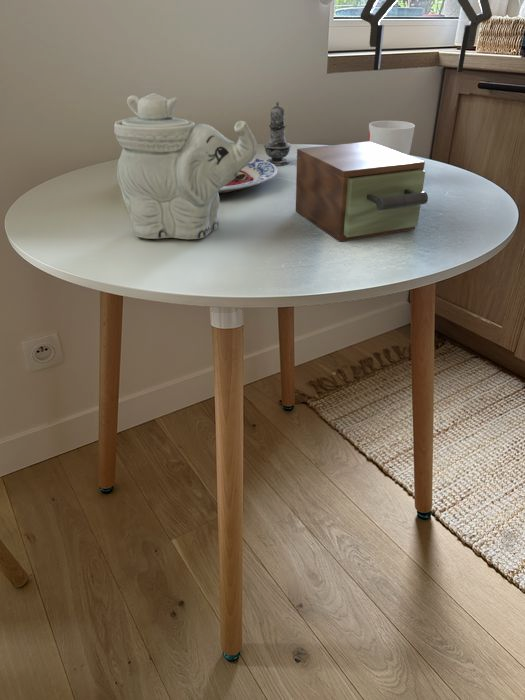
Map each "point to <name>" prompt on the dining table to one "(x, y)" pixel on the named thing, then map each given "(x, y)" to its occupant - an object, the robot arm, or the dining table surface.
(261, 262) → the dining table surface
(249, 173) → the ceramic plate
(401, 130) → the cup
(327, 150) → the cabinet
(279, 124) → the salt shaker
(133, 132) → the teapot
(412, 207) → the drawer
